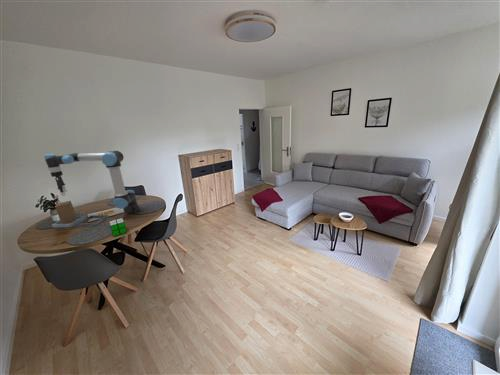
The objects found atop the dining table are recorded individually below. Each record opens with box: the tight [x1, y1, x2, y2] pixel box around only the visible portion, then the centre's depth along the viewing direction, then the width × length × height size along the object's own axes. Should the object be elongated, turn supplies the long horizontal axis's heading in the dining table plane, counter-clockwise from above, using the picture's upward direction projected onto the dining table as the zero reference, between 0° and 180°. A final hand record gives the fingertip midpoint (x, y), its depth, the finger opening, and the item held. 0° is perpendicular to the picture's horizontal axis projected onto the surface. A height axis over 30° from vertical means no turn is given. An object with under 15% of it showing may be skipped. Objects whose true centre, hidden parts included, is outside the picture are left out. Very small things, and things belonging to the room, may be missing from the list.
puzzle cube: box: [108, 218, 128, 237], centre depth 168 cm, size 10×10×10 cm
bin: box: [51, 215, 87, 229], centre depth 191 cm, size 18×18×4 cm
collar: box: [75, 214, 110, 227], centre depth 191 cm, size 18×18×2 cm
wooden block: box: [54, 200, 77, 224], centre depth 188 cm, size 10×10×20 cm
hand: (64, 193), depth 184 cm, fingers open, 13 cm apart
